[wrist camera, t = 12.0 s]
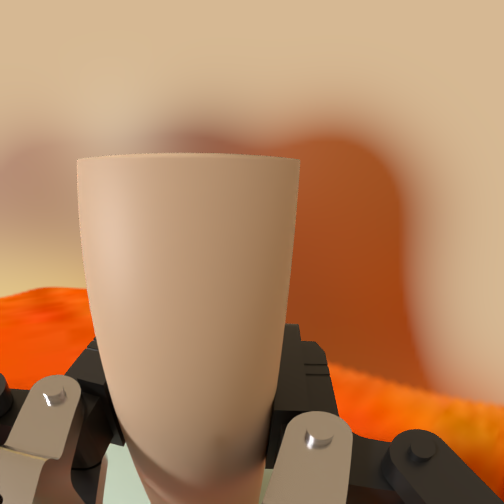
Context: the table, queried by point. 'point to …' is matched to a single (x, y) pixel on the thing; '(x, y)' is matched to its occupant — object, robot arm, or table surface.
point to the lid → (188, 316)
